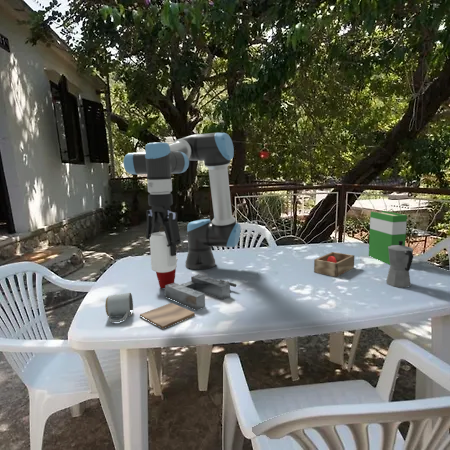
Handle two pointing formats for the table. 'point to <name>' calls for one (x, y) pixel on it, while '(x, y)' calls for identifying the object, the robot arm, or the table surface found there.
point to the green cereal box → (385, 233)
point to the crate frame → (334, 264)
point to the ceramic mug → (119, 306)
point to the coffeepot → (399, 265)
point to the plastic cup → (166, 277)
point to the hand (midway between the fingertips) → (164, 263)
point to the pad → (167, 315)
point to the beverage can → (160, 253)
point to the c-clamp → (194, 298)
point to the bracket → (332, 260)
